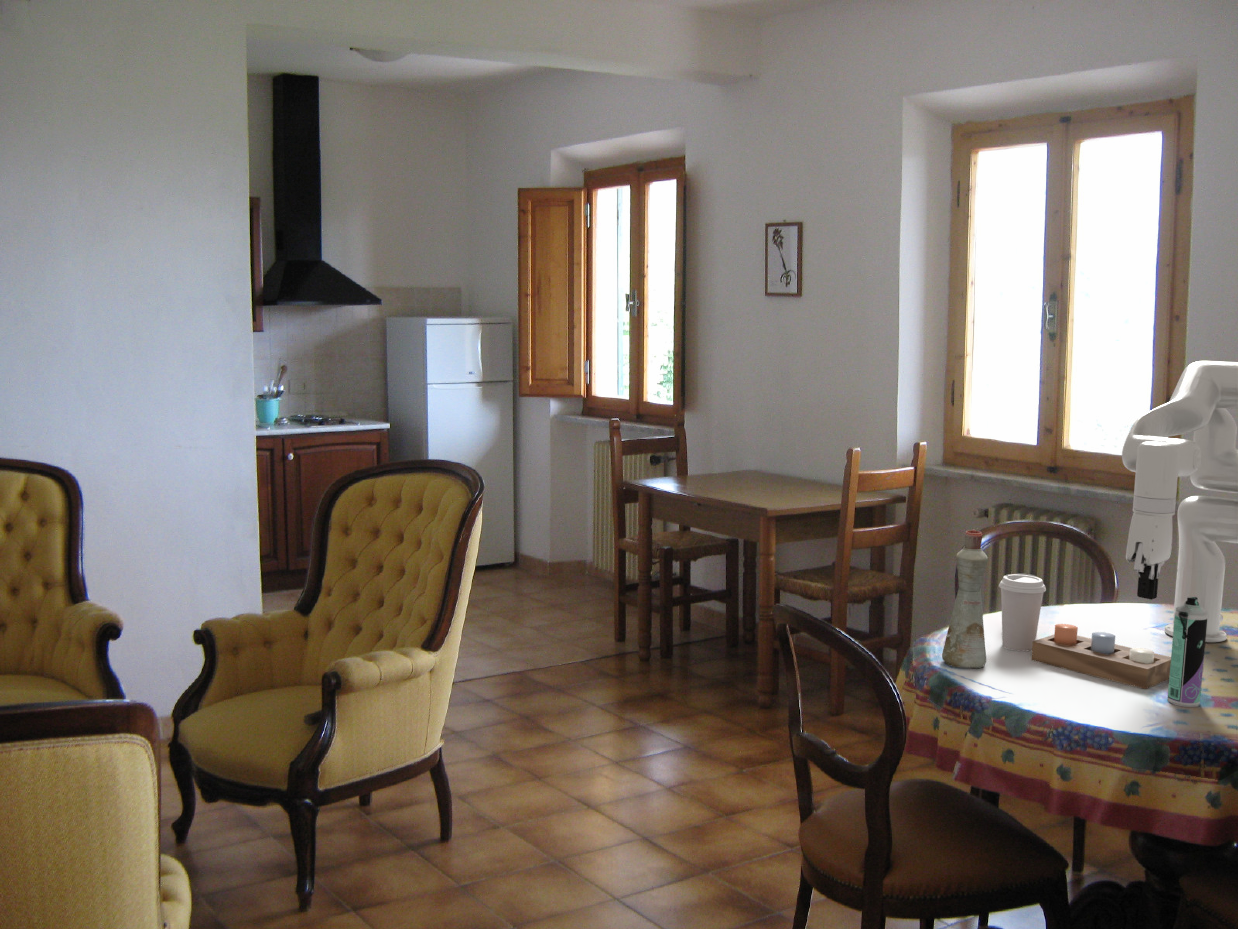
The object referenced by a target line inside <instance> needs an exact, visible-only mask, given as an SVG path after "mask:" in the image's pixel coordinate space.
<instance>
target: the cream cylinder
mask: <svg viewBox="0 0 1238 929" xmlns="http://www.w3.org/2000/svg"><path fill="white" fill-rule="evenodd" d="M1131 648H1132V649H1130V656H1129V660H1132V661H1137V662H1141V663H1145V664H1151V663H1153V662H1154V653H1155V651H1153V650H1151V649H1147V648H1142V647H1131Z"/></svg>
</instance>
